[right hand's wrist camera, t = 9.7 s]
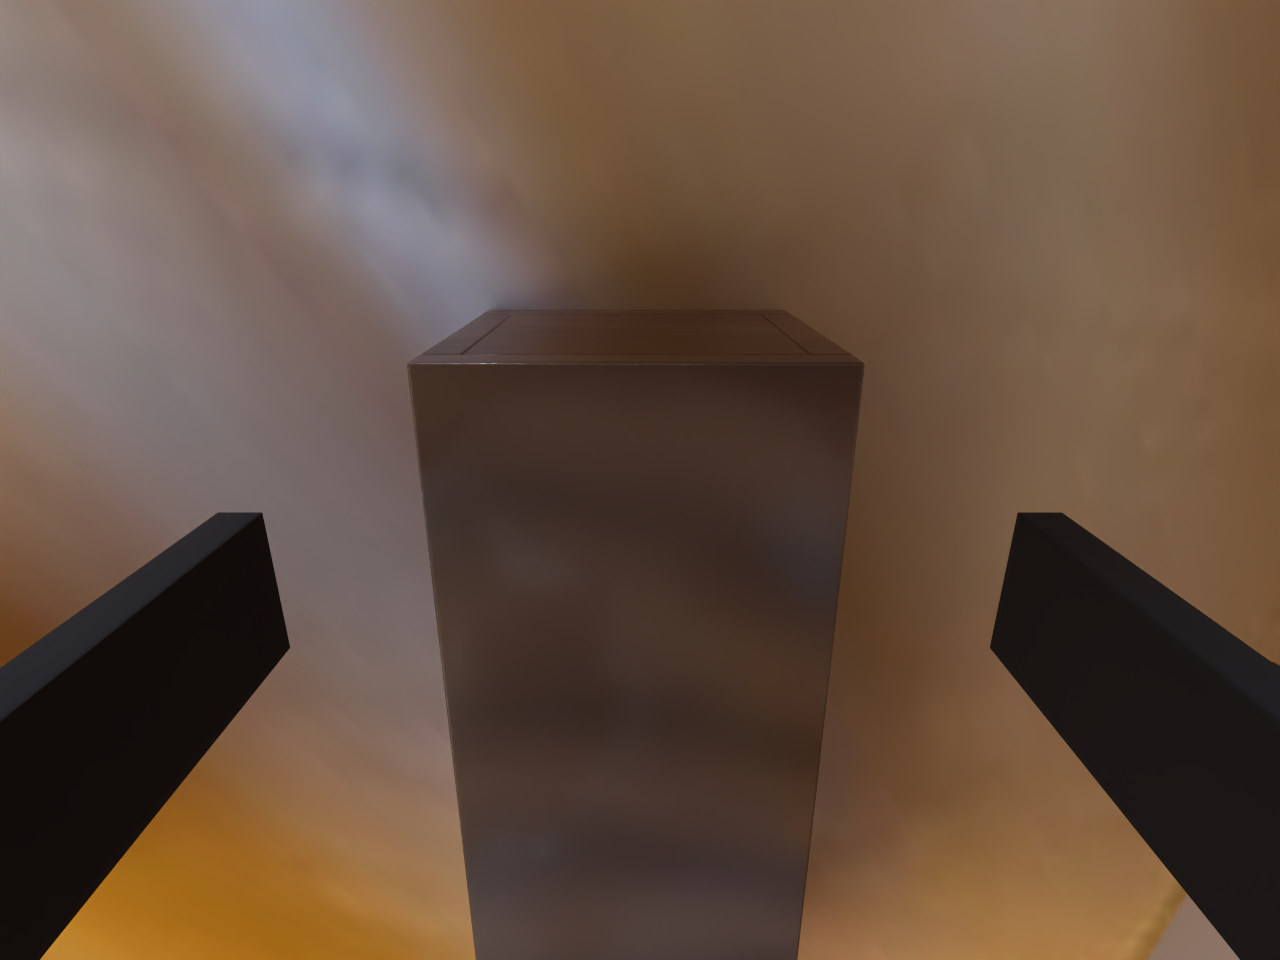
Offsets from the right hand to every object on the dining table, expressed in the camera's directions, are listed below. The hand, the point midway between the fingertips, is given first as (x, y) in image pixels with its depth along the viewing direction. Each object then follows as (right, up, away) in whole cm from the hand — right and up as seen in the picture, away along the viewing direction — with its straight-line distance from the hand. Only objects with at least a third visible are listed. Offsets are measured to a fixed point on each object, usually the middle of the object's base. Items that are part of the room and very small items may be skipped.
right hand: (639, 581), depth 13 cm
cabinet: (0, -2, +15) cm, 15 cm away
